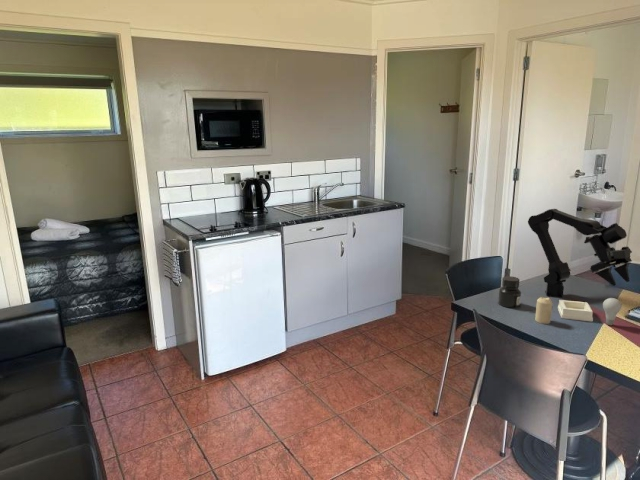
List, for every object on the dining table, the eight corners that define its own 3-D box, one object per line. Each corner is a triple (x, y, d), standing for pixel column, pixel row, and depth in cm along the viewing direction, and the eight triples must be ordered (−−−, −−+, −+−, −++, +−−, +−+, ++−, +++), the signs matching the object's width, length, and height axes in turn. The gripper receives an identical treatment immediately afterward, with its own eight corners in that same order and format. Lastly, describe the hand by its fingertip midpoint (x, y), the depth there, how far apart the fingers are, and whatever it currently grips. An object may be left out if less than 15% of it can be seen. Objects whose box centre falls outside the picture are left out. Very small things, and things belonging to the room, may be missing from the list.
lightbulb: (596, 322, 176) (600, 296, 174) (611, 321, 177) (614, 295, 174) (607, 328, 171) (611, 301, 168) (622, 327, 171) (626, 301, 168)
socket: (561, 318, 181) (562, 308, 180) (557, 308, 191) (558, 299, 190) (592, 321, 177) (593, 312, 176) (586, 311, 187) (588, 302, 186)
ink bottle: (523, 308, 191) (525, 282, 188) (502, 308, 191) (504, 282, 189) (514, 300, 201) (516, 275, 198) (494, 300, 201) (496, 275, 198)
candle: (549, 319, 180) (551, 296, 178) (551, 324, 175) (553, 300, 173) (534, 317, 182) (536, 294, 179) (535, 323, 177) (538, 299, 174)
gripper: (605, 243, 173) (626, 280, 168) (633, 237, 181) (654, 272, 176) (581, 254, 182) (600, 290, 177) (609, 248, 190) (628, 282, 185)
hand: (621, 283), depth 178 cm, fingers open, 9 cm apart
